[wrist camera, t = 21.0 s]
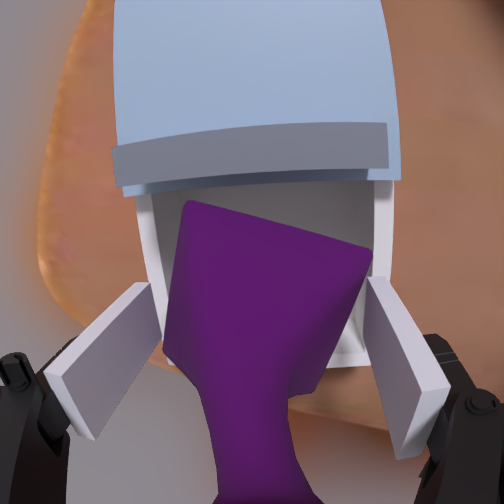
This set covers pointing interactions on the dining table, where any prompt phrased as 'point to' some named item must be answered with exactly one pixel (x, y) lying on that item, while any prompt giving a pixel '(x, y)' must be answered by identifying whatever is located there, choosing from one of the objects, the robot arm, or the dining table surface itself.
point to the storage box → (289, 213)
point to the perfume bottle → (256, 337)
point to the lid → (252, 93)
